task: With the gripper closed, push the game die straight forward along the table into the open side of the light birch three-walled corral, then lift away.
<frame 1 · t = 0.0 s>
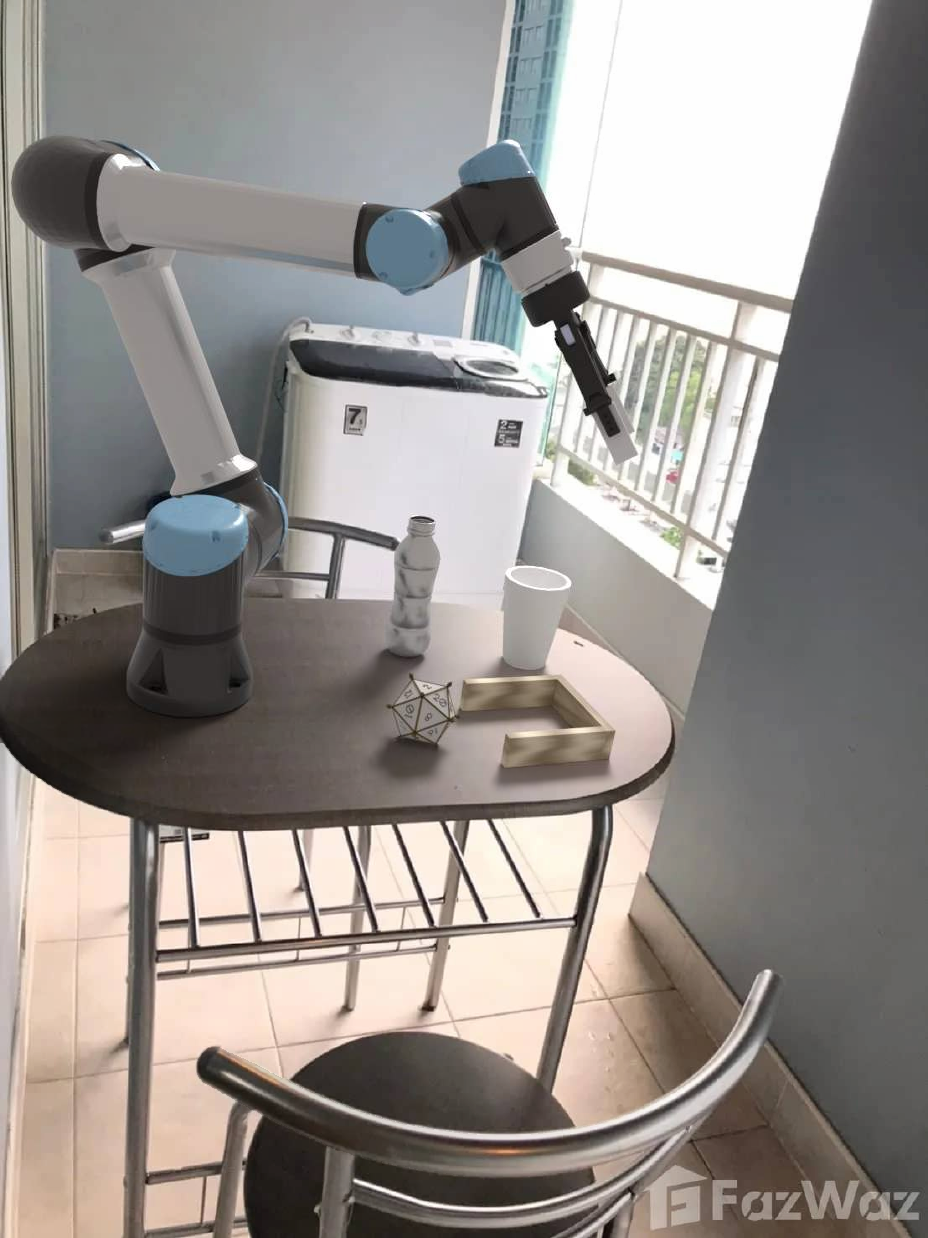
hand: (626, 447, 121), 36 cm above the table, tool tilted 35°, fingers open, 13 cm apart
foam cup: (523, 661, 147), on the table
plastic bottle: (405, 653, 144), on the table
game die: (419, 741, 122), on the table
corral: (527, 732, 127), on the table
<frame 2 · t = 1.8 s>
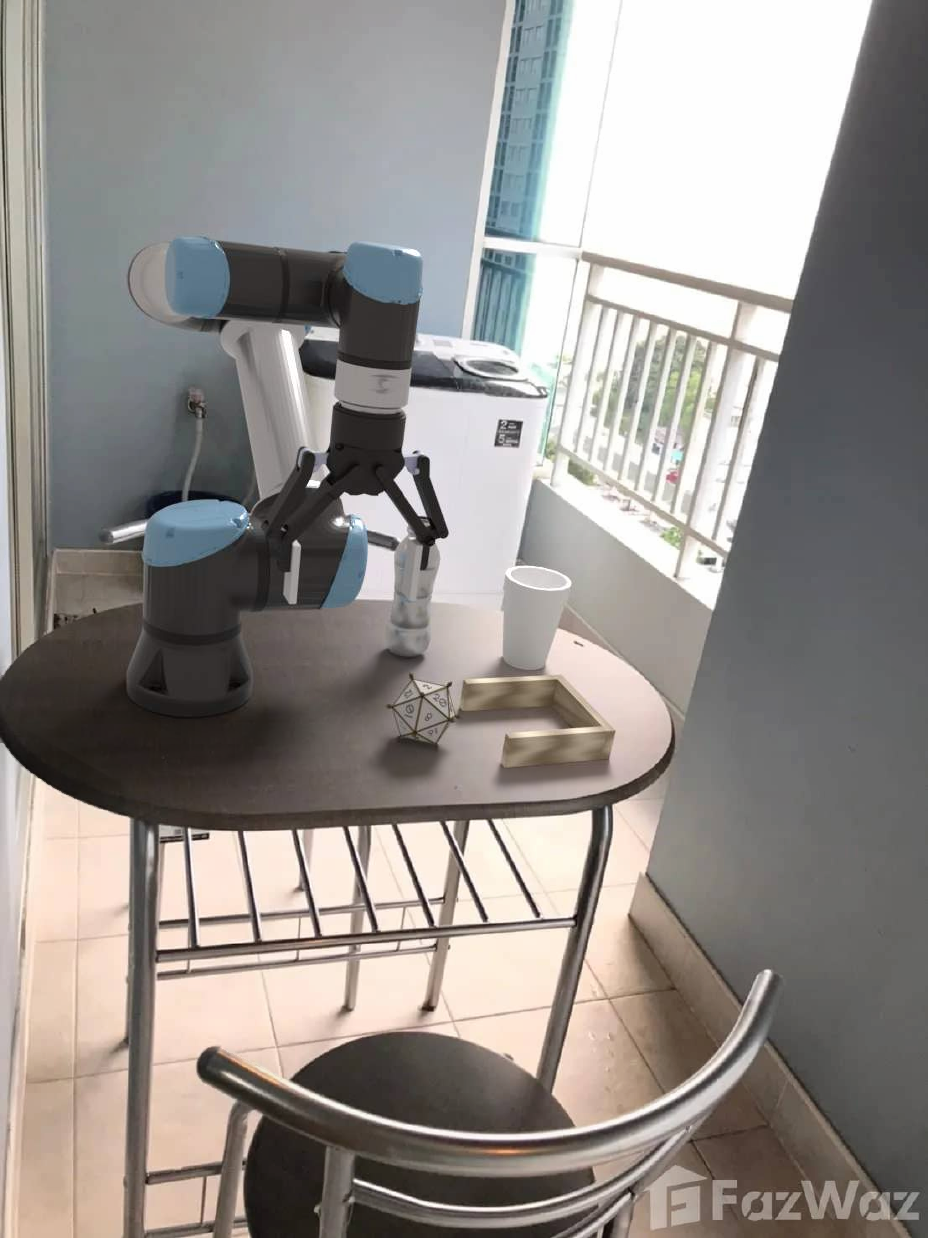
hand: (350, 597, 111), 19 cm above the table, tool pointing down, fingers open, 13 cm apart
nothing on the table moved.
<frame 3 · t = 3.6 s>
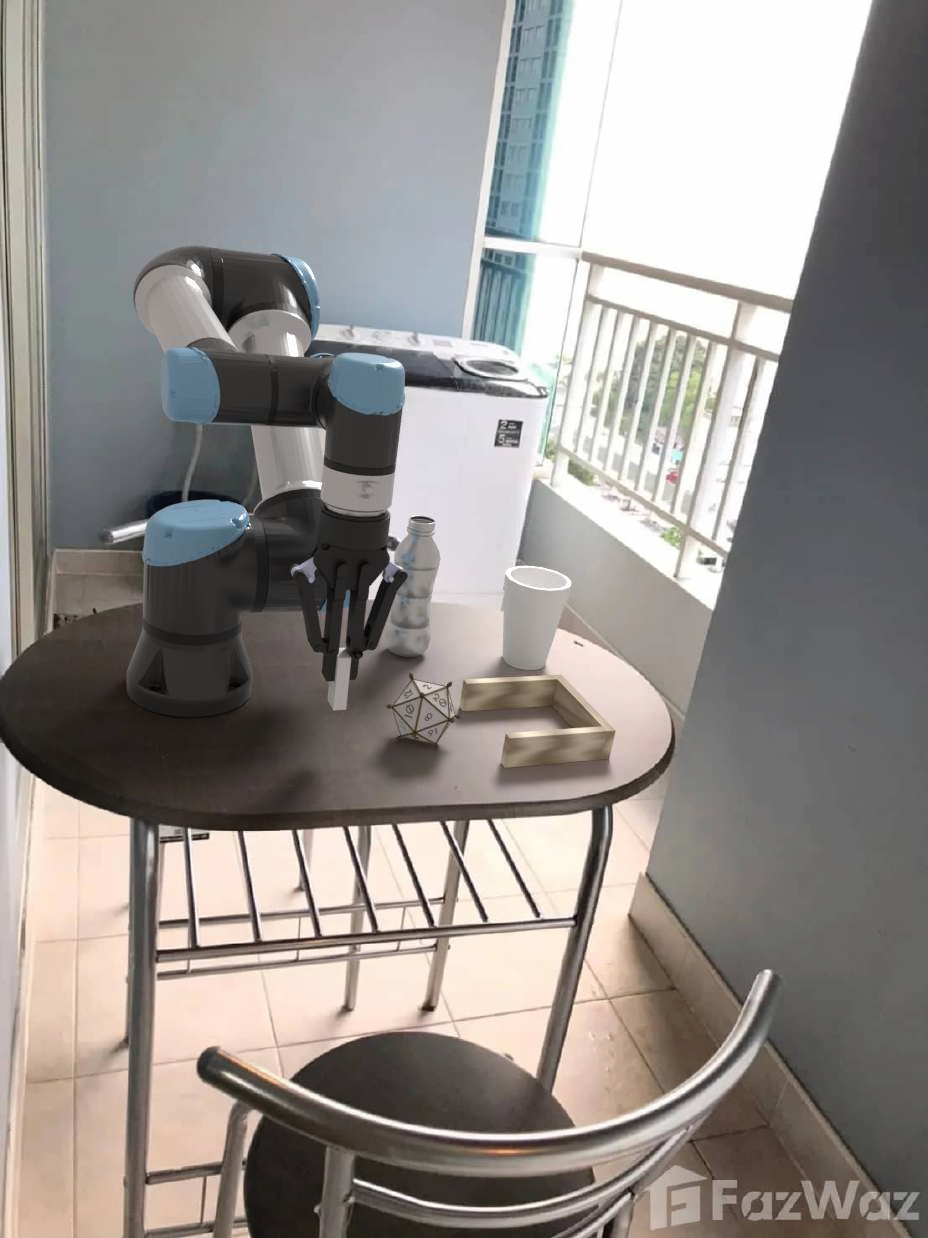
hand: (336, 704, 115), 6 cm above the table, tool pointing down, fingers closed
nothing on the table moved.
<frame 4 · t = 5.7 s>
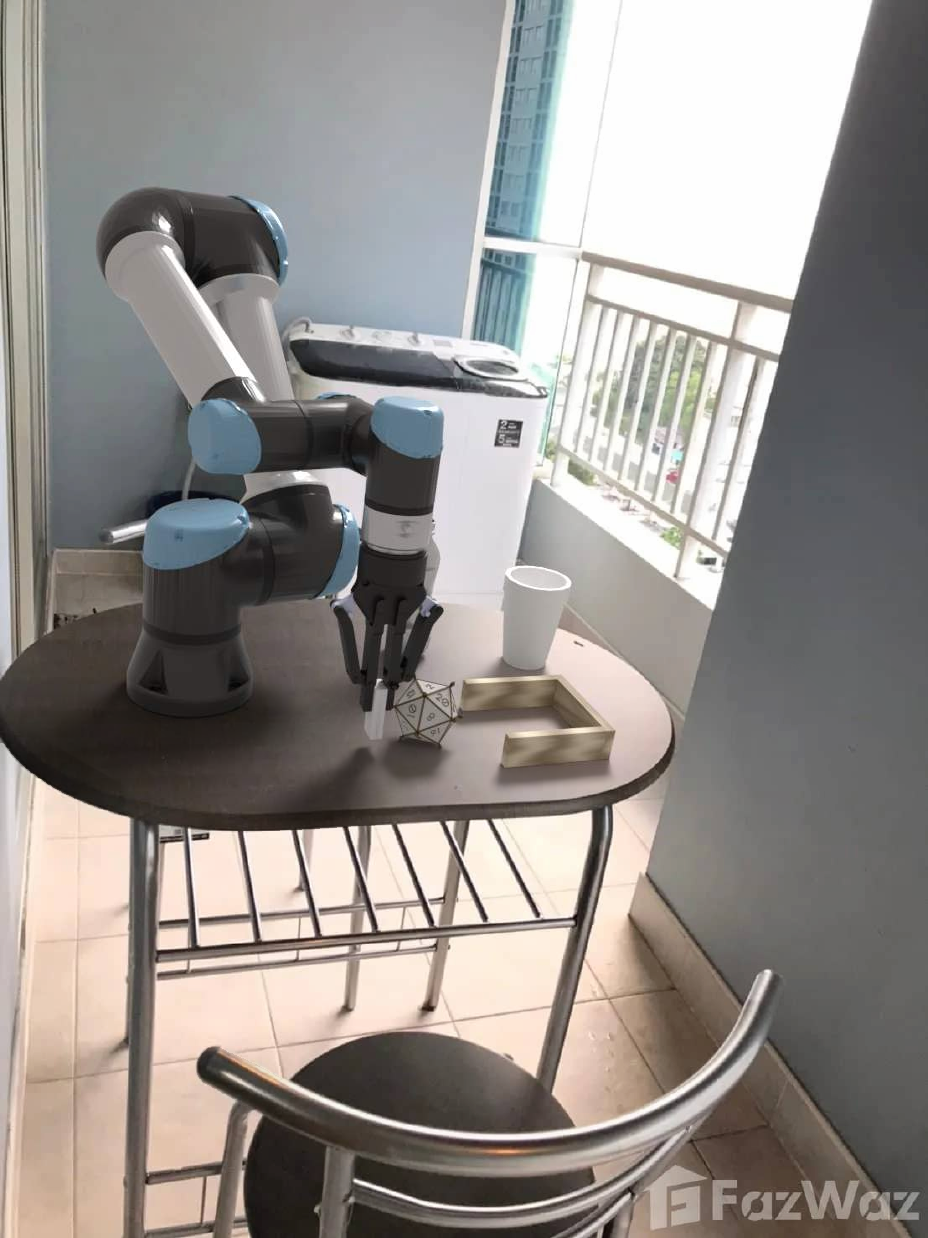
hand: (372, 733, 118), 2 cm above the table, tool pointing down, fingers closed
game die: (422, 741, 122), on the table, touching gripper
everything else where it was.
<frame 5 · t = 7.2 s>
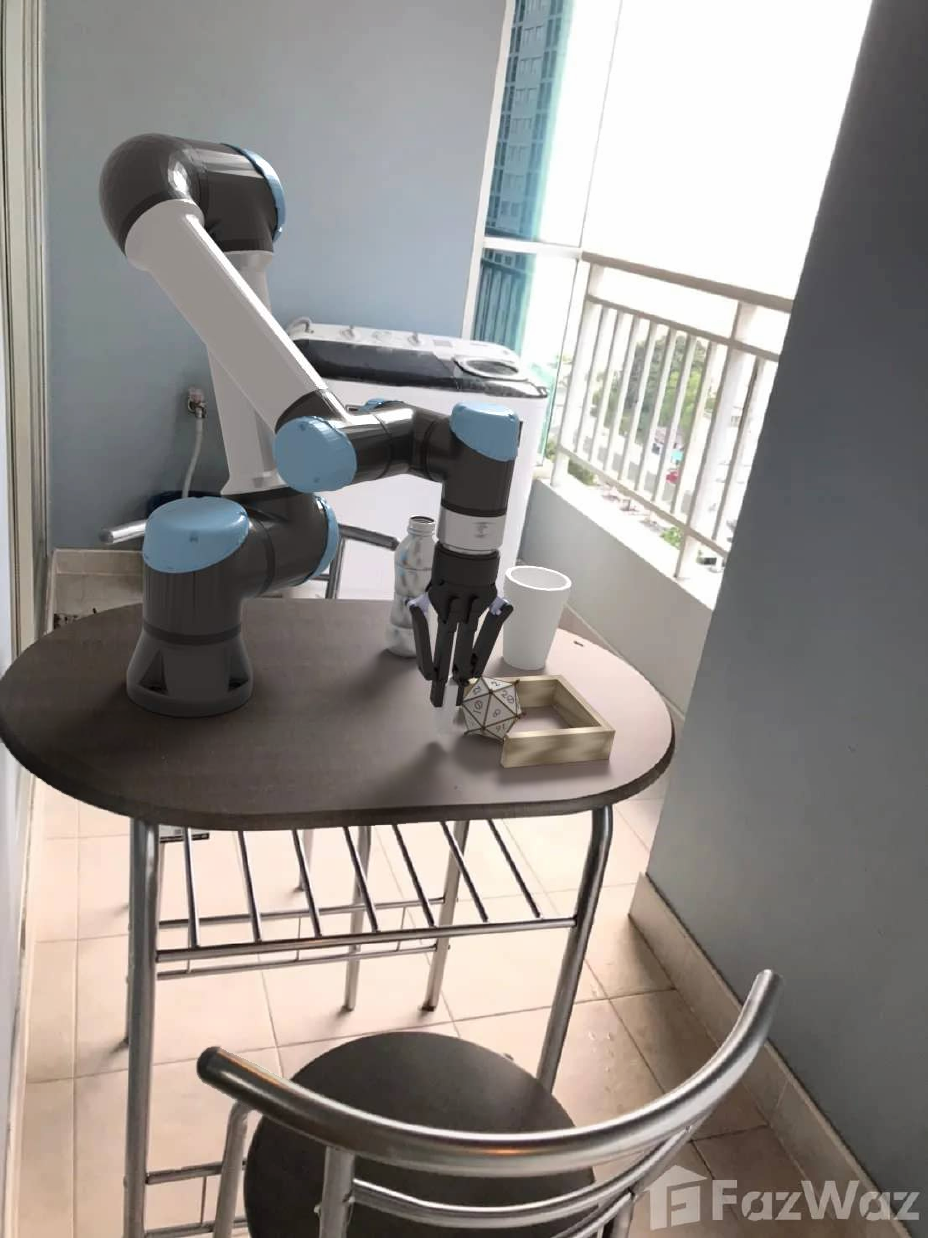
hand: (442, 728, 122), 2 cm above the table, tool pointing down, fingers closed
game die: (486, 737, 125), on the table, touching gripper
everything else where it was.
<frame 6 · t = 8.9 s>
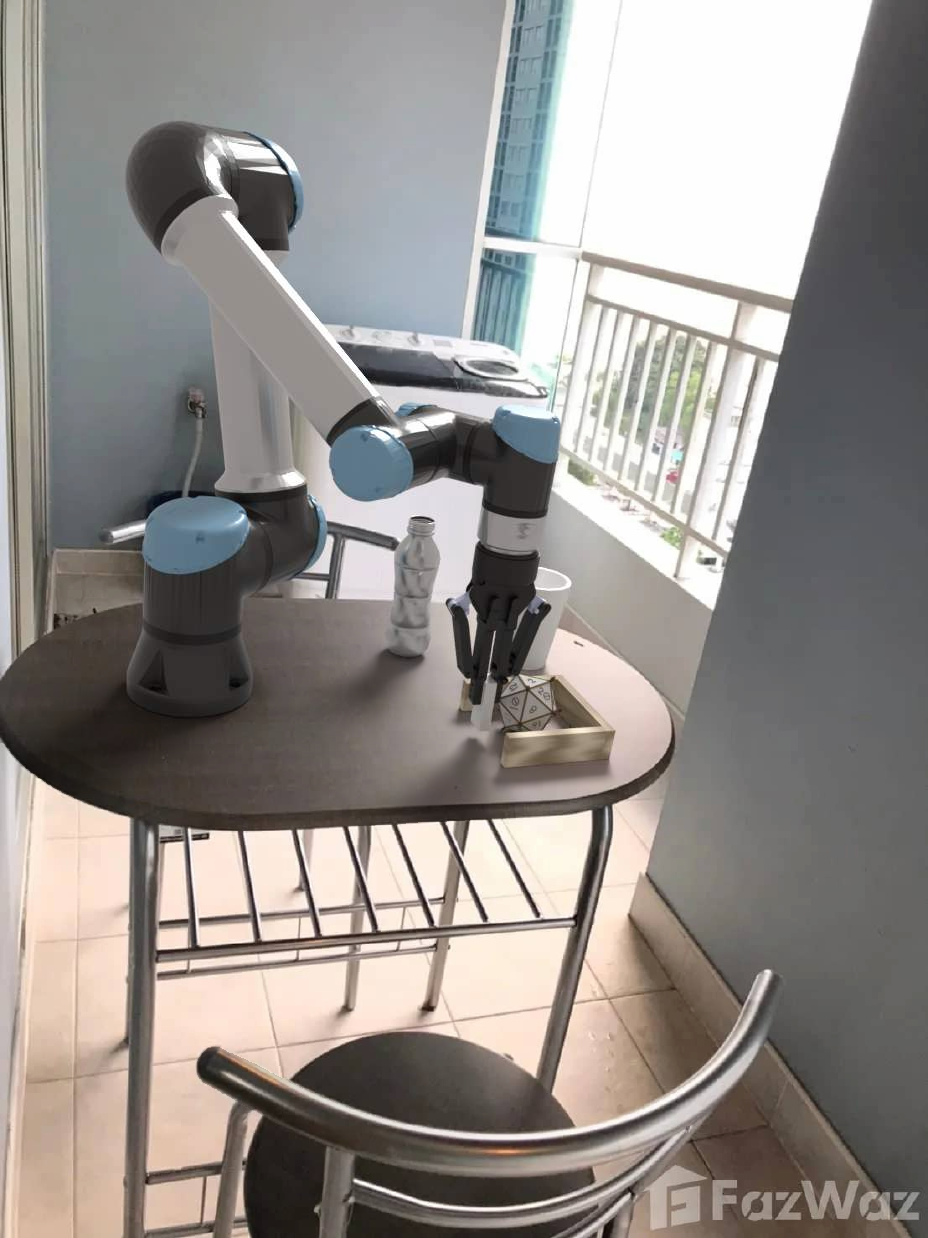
hand: (480, 725, 124), 2 cm above the table, tool pointing down, fingers closed
game die: (522, 733, 127), on the table, touching gripper
everything else where it was.
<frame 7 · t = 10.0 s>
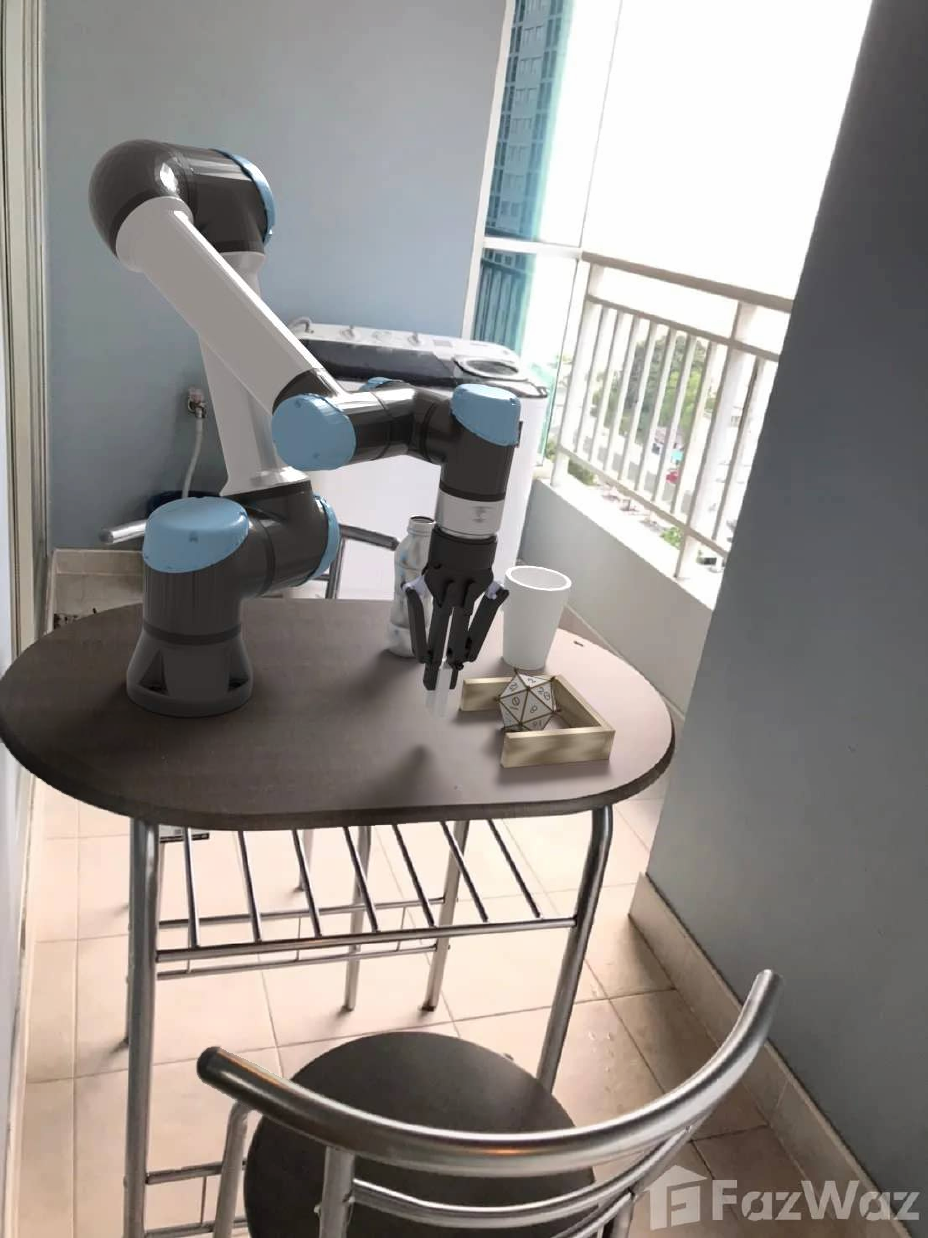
hand: (434, 711, 121), 3 cm above the table, tool pointing down, fingers closed
game die: (522, 733, 127), on the table
everything else where it was.
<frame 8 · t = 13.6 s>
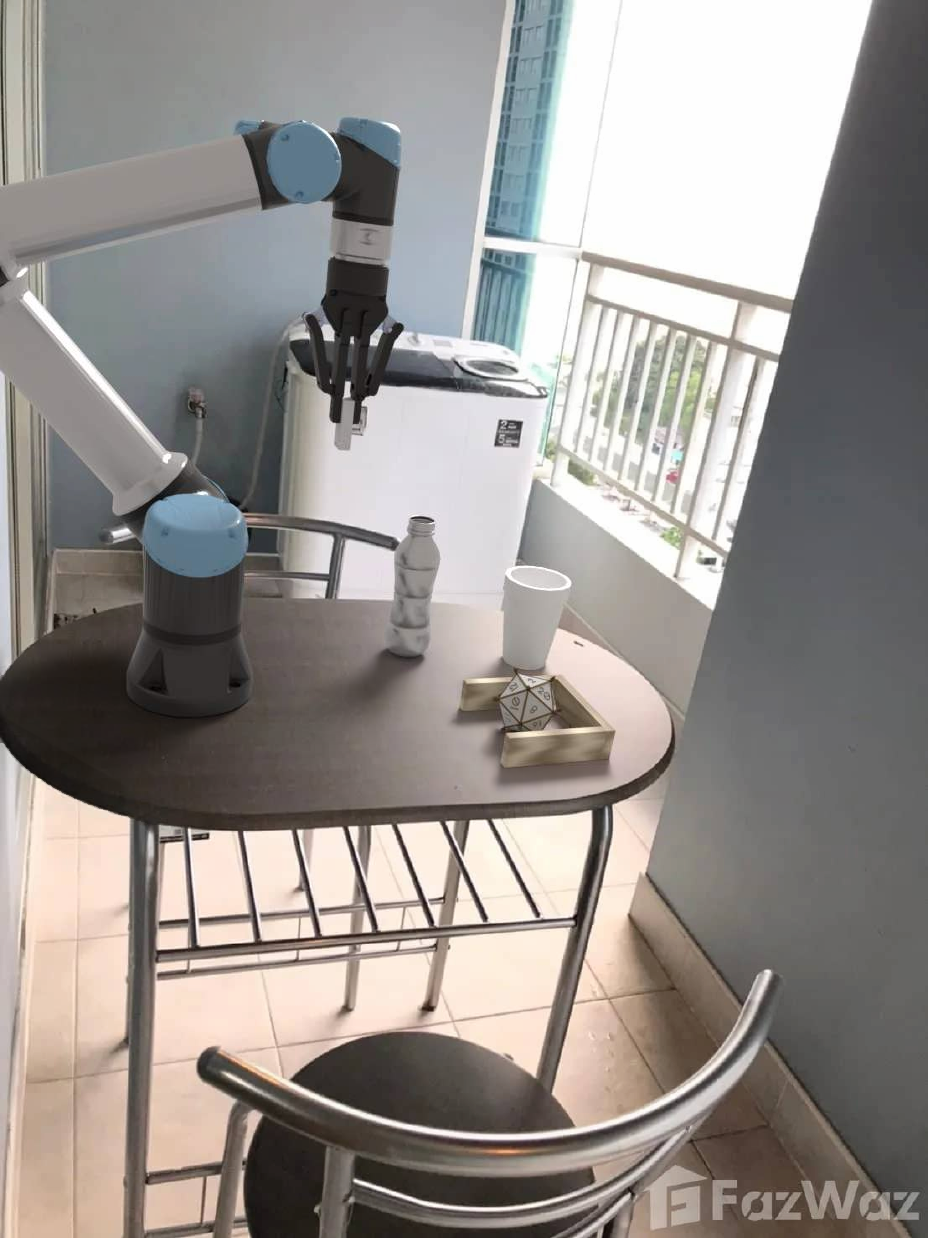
hand: (341, 447, 132), 28 cm above the table, tool pointing down, fingers closed
nothing on the table moved.
at the end: game die inside the target area (1.1 cm from its centre), on the table; game die moved 13.9 cm from its start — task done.
